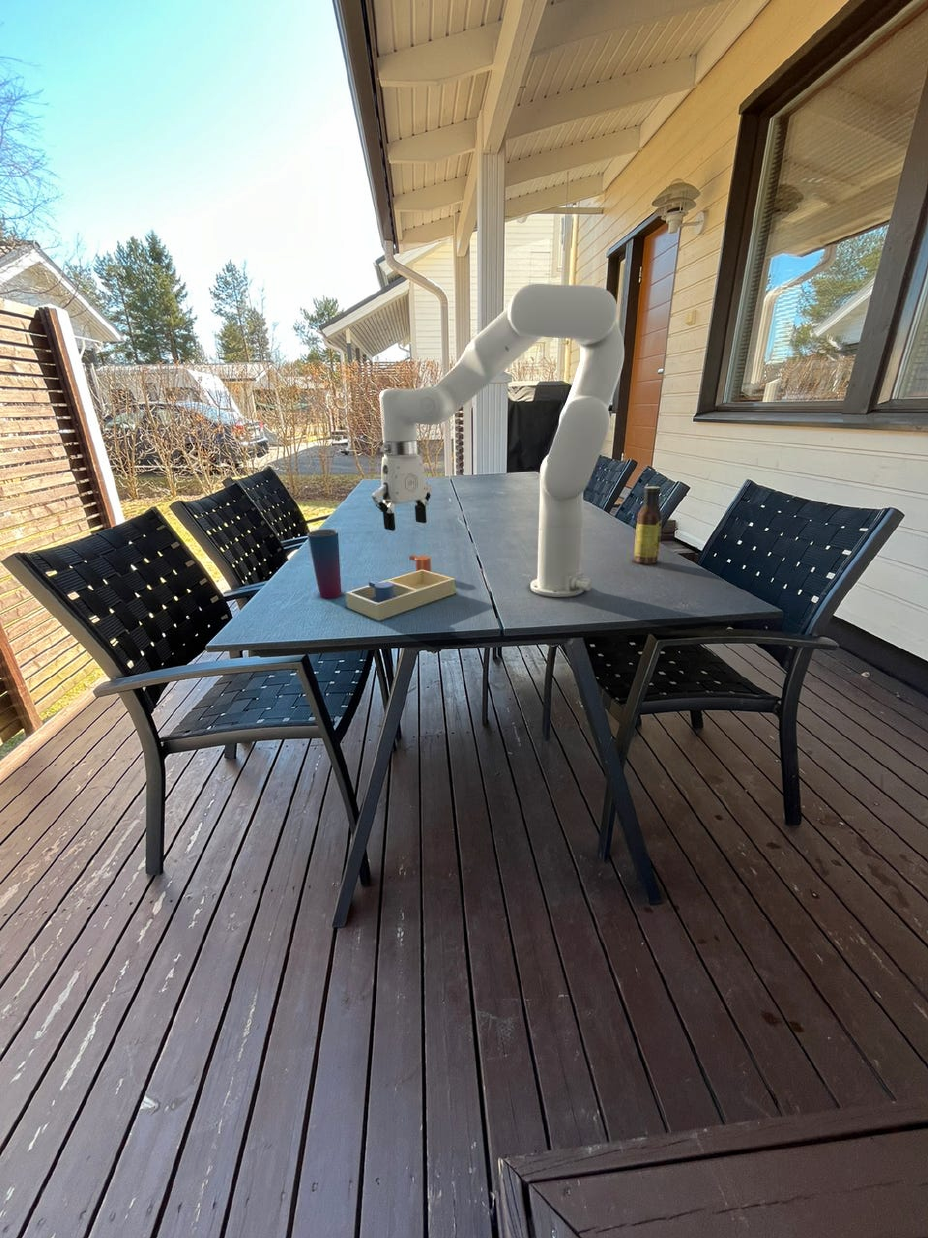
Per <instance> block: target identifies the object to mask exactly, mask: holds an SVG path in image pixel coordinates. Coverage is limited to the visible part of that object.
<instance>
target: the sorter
mask: <svg viewBox="0 0 928 1238" xmlns="http://www.w3.org/2000/svg"><path fill="white" fill-rule="evenodd" d="M381 582H390V583H393V588H394V598H392V599H389V600H386V601H383V602H380V603H377V602H376V595H375V588H373V587H370V586H369V585H365V586H363V587H359V588H356V589H352V590H350V591H346V592H345V600H346V608H347V609H350V610H352V611H354V612H357V613H359V614H361V615H364V616H366V617H369V618H371V619H373V620H376V621H378V622H380V621H382V620H385V619H387V618H390V617H394V616H396V615H399V614H402V613H405V612H407V611H410V610H413V609H416V608H419V607H421V606H424V605H426V604H429V603H432V602H435V601H438V600H440V599H444V598H446V597H449V596H452V595H454V594H457V592H456V578H454V577H450V576H447V575H443V574H440V573H437V572H433V571H431V572H430V571H426V570H423V569H422V570H419V571H416V570H415V571H411V572H409V573H406V574H402V575H399V576H395V577H391V578H389V579H386V580H383V581H379V582H378V583H381Z"/></svg>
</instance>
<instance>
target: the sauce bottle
mask: <svg viewBox="0 0 928 1238" xmlns="http://www.w3.org/2000/svg"><path fill="white" fill-rule="evenodd" d="M660 494H661V487H660V486H653V485H652V486H651V485H650V486H644V489H643V495H644V497H643V505H642V506H641V508H640V510H639V511H638V514H637V523H636V531H635V542H634V553H633V555H634V562H636V563H638V564H643V565H652V564H656V563H657V562H658V557H659V555H660V554H659V553H660V545H661V544H660V543H661V535H662V525H663V515H662V511H661V506H660Z"/></svg>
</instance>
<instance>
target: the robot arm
mask: <svg viewBox="0 0 928 1238" xmlns="http://www.w3.org/2000/svg"><path fill="white" fill-rule="evenodd" d="M618 310H619V309H618V304H617V301H616V298H615V296H614V295H613V294H612V293H611V292H610V291H609V290H607V289H605V288H603V287H601V286H595V285H571V284H551V283H530V284H526V285H523V286H522V287H520V288H519V289H517V290H516V291H515V293H514V294H513V295H512V297H511V299H510V301H509V304H508V306H507V307H506V308H505V309H504V310H503V311H502V312H501V313H500V314H499V315H498V316H496V317H495V318H494V319H493V320H491V322H490V323H489V324H488V325H487V326H486V327H485V328H484V329H482V330H481V331H480V332H479V333H478V334H477V335H476V336H475V337H474V338H472V339H471V341H470V342H469V343H468V344H467V346H466V347H465V350H464V351H463V354H462V355H461V357H460V359H459V360H458V361H457V362H456V364H455V365H454V366H453V367H452V368H451V369H450V370H449V371H448V372H447V373H446V374H445V375H444V376H443V377H442V378H441V379H440V380H439V381H437V382H436V383H435V384H434V385H433V386H431V385H430V386H429V385H428V386H423V387H417V388H412V389H409V388H386V389H383V390H381V391H380V393H379V397H378V399H379V410H380V412H379V413H380V423H381V424H380V425H381V435H382V445H381V446H380V452H381V453H383V456H382V458H381V469H380V485H381V486H380V487H379V488H378V489H376V490H375V491H374V492H373V493H372V494H371V498H372V500H373V503H374V504H375V506H376V508H377V509H378V510H379V512H381V513H382V519H383V527H384V530H387V531H391V532H394V531H395V530H396V518H395V513H394V512H393V510H394V509H395V506H396V504H397V505H401V504H407V503H411V502H414V503H416V504H414V515H415V522H416V523H420V524H427V522H428V521H427V506H428V505H429V501H430V498H431V494H432V490H433V487H434V486H433V485H432V484H431V483H429V482H427V479H426V473H425V468H424V462H423V459H422V456H421V454H419V450H418V449H419V448H418V433H417V432H418V431H417V424H418V425H425V426H426V425H427V426H434V425H438V424H441V423H445V422H446V421H447V420H449V419H450V418H452V416H454V415H456V413H457V412H459V410H461V409H462V408H463V407H465V406H466V404H467V403H468V402H470V401H471V400H472V399H473V398H474V397H475V396H476V395H477V394H479V393H480V392H481V391H482V390H483V389H484V388H486V387H487V386H488V385H489V384H491V383H492V382H493V381H494V380H496V379H497V378H498V376H500V375H501V374H502V373H503V372H504V371H505V370H506V369H507V368H508V367H510V366H511V365H512V364H513V363H514V362H515V361H516V360H518V358H520V357H521V356H522V355H524V353H525V352H527V351H528V350H529V349H530V348H532V347H533V346H534V345H535V344H536V343H537V342H538V341H539V340H540V339H542V338H553V339H554V338H555V339H571V340H572V339H573V340H574V341H575V342H576V343H577V345H578V348H579V351H580V360H579V364H578V366H577V370H576V373H575V376H574V380H573V383H572V386H571V388H570V391H569V394H568V396H567V399H566V402H565V404H564V405H563V408H562V410H561V412H560V414H559V419H558V426H557V429H556V432H555V435H554V438H553V440H552V443H551V446H550V449H549V452H548V454H547V455H546V456H545V457H544V459H543V460H542V463H541V464H540V470H539V510H538V511H539V514H538V539H537V540H538V542H537V544H538V545H537V578H535V579H533V580H532V581H531V582H530V590H531V591H532V592H533V593H535V594H537V595H540V596H544V597H551V598H568V597H575V596H578V595H580V594H582V593H584V592H589V591H591V589H592V584H593V580H592V579H588V578H584V571H582V570H580V560H581V559H580V556H581V544H582V543H581V541H582V524H583V513H584V512H583V511H584V510H583V509H584V492H585V490H586V488H587V486H588V484H589V482H590V480H591V478H592V475H593V474H594V473H593V472H594V470H595V468H596V465H597V463H598V460H599V458H600V455H601V454H602V453H601V452H602V450H603V449H604V448H603V447H604V445H605V442H606V439H607V437H608V434H609V431H610V426H611V415H610V412H609V407H610V405H611V403H612V400H613V397H614V394H615V392H616V388H617V385H618V382H619V379H620V376H621V373H622V369H623V365H624V361H625V344H624V338H623V334H622V331H621V329H620V327H619V325H618V323H617V318H618V313H619V311H618Z"/></svg>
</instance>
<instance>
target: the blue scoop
mask: <svg viewBox="0 0 928 1238" xmlns="http://www.w3.org/2000/svg"><path fill="white" fill-rule="evenodd" d="M380 582H381V583H379V582H378V581H376V580H371V581H368V586H370V587H373V588H375V595H376V602H377V603H380V602H383V601H386V600H389V599H392V598H394V588H393V583H390V582H382V581H380Z"/></svg>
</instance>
